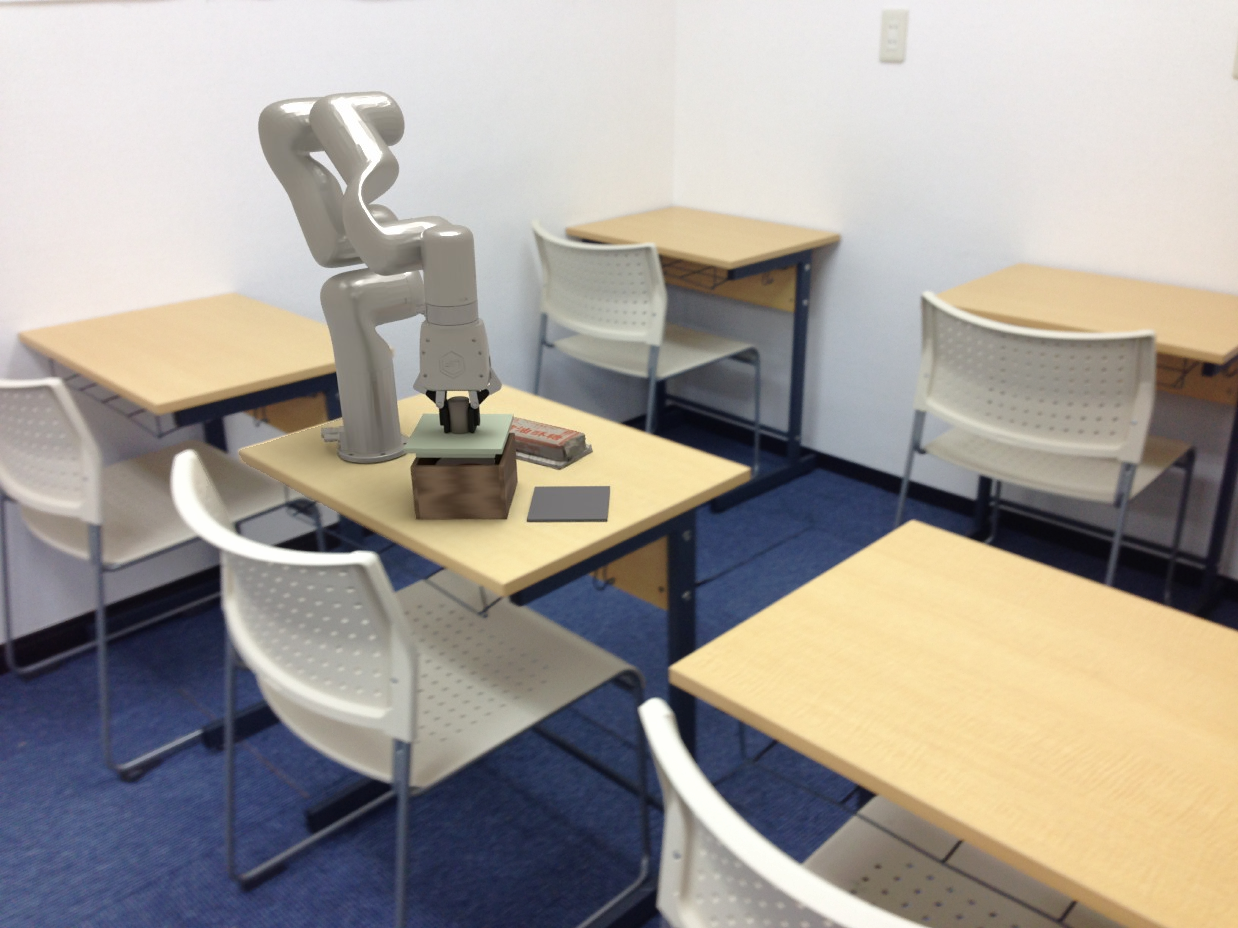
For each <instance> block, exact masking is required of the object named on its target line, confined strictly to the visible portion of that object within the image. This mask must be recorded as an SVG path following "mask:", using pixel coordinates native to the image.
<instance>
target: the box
mask: <svg viewBox="0 0 1238 928" xmlns="http://www.w3.org/2000/svg"><path fill="white" fill-rule="evenodd" d="M440 459H441V458H434V457H416V456H415V457H414V459H413V461H412V463H411V465H410V467H409V469H410V477H411V478H410V479H411V487H412V496H413V498H412V499H413V507H414V517H415V520H492V519H493V520H495V519H496V520H499V519H501V520H507V519H508V516H509V513H510V509H511V508H512V507H511V506H512V503H513V499H514V496H515V493H516V489H517V486H518V482H519V481H518V480H519V479H518V464H517V462H518V461H517V459H516V446H515V433H509V434H508V437H507V440H506V443H505V446H504V449H503V452H502V454H496V455H495V458H494V459H495V465H436V463H437V462H438V461H439V460H440Z"/></svg>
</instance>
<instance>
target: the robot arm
mask: <svg viewBox="0 0 1238 928" xmlns="http://www.w3.org/2000/svg"><path fill="white" fill-rule="evenodd" d="M257 124H258V125H257V129H258V138H259V142H260V146H261V147H260V148H261V150H262V153H263V155H264V158H265V160H266V162H267V164H268V166H269V168H270V169H271V171H272V172H273V174H274V175H275V177H276V179H277V180H278V181H279V183H280V184H281V186H282V188H283V189H284V191H285V193H286V194H287V197H288V198H289V200H290V203H291V206H292V208H293V211H294V213H295V216H296V218H297V222H298V224H299V227H300V228H301V231H302V234H303V236H304V239H305V242H306V245H307V246H308V250H309V252H310V254H311V256H312V258H313V259H314V260H315V262H316V263H317V264H318V265H319V266H320V267H322V268H326V269H336V268H337V269H339V268H344V267H351V266H357V265H358V266H359V265H362V264H363V265H365V266H366V267H365V268H359V269H358V268H357V269H353V270H348V271H343V272H339V273H338V274H334V275H332V276H331V277H329V278H328V279H326V281H324V283H323V284H322V286H321V288H320V291H319V292H320V294H319V298H320V299H319V300H320V305H321V308H322V311H323V312H322V313H323V315H324V318H325V321H326V326H327V328H328V332H329V336H330V341H331V345H332V350H333V351H332V353H333V359H334V364H335V372H336V377H337V378H336V379H337V387H338V393H339V403H340V410H341V419H342V425H339V427H332V426H327V427H326V426H325V427H321V429H320V435H321V439H323V440H324V443H332V442H337V443H338V445H337V447H336V450H337V455H338V457H340V459H342V460H343V461H344V460H345V461H347V462H351V463H356V464H357V463H359V464H371V463H381V462H386V461H391V460H394V459H398V458H400V457H402V456H403V455H404V454H406V453H404V447H405V445H406V443H407V441H408V440H409V438H410V437H408V436H407V435H405V434H404V433H402V432H401V425H400V415H399V407H398V396H397V388H396V378H395V371H394V370H395V369H394V361H393V354H392V350H391V348H390V345H389V343H388V342H387V341H386V340H385V339H384V337H382V336H381V335H380V334H379V333H378V332H377V330H376V327H378V326H382V325H385V324H389V323H393V322H399V321H403V320H407V319H411V318H414V317H417V316H419V315H420V314H421V316H422V315H423V316H424V317H425V319H424V320H423V321H422V322H421V324H420V329H419V330H420V332H419V373H418V375H417V377H416V379H415V381H414V383H413V385H412V388H413V390H414V391H416V392H418V393H420V394H422V395H425V396H426V397H427V398H428V399H429V400H431V402H433V403H434V404H435V407H436V408H437V409H438V414H439V418H440V426H444V433H448V432H449V431H450V422H449V409H448V399H449V398H448V392H468V398H469V402H470V404H469V405H470V406H469V408H468V422H469V432H470V433H474V432H475V430H476V427H477V426H480V414H481V412H480V411H481V410H480V406H481V405H482V403H483V402H484V401H485V400H486V399H487V398H488V397H489V396H492V395H493V394H495V393H497V392H499V391H500V390H501V389H502V387H503V383H502V382H501V380H500V378H499V377H498V375H497V374H496V373H495V371H494V369H493V367H492V359H491V354H490V352H491V351H490V345H489V340H488V333H487V329H486V327H485V322H484V320H483V319H482V318H479V304H478V303H479V301H478V288H477V286H478V285H477V284H478V283H477V271H476V270H477V269H476V267H477V266H476V253H475V238H474V234H473V233H472V232H473V231H471V229H469V227H466V226H465V225H459V224H452V222H451V221H449V220H447V219H446V218H445V217H442V216H438V215H429V216H428V215H427V216H426V215H425V216H420V217H414V218H413V217H410V218H404V219H399V218H398V217H397V215H396V214H395V213H394V212H393V211H392V210H391V209H390V208H389V207H387V206H385V205H382V204H377V203H373V202H374V201H376V200H377V199H378V198H380V197H382V196H383V195H384V194H385V193H387V192H388V191H389V190H390V189H391V188H392V187H393V186H394V184H395V182H396V181H397V179H398V177H399V173H400V165H399V161H398V158H396V156H395V155H394V153H393V152H392V150H391V149H390V147H393V146H394V145H397V144H398V143H399V142H400V141H401V140H402V138H403V136H404V134H405V127H406V126H405V125H406V124H405V117H404V114H403V112H402V109H401V107H400V105H399V104H398V102H397V101H396V100H395V99H394V98H393V97H392V96H391V95H389V94H388V93H386V92H383V91H378V90H377V91H375V90H374V91H358V92H343V93H341V92H340V93H332V94H327V95H325V96H315V97H313V96H312V97H311V96H310V97H295V98H288V99H287V98H286V99H282V100H277V101H274V102H272V103H269V104H268V105H266V107H264V108H263V109H262V111H261V112H260V113H259V116H258V123H257ZM316 152H324V153H325V154H326V156H327V157H328V159H329V160H330V162H331V163H332V164H333V167H334V168H335V170H336V171H337V173H338V174H339V175H340V177H341V179H342V181H344V183H345V184H346V188H345V192H344V191H343V189H342V187H341V184H340V182H339V180H338V179H337V178H336V176H335V175H334V174H333V173H332V172H331V171H330V170H329V169H328V168H327V167H326V166H325V165H324V164H322V163H321V162H319V161H318V160H316V159H315V158H313V157H312V156H311V153H316ZM372 203H373V204H372ZM420 271H422V275H421V272H420Z"/></svg>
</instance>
